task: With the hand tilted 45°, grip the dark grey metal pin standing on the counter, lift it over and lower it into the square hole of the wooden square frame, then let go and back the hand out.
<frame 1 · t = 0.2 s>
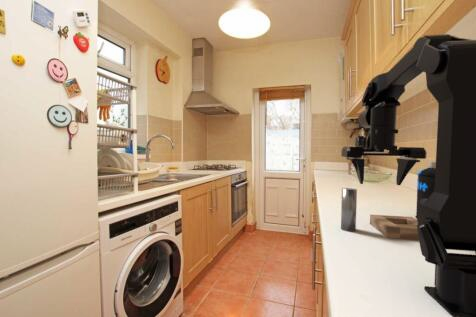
hand: (379, 184, 62), 14 cm above the worktop, tool pointing down, fingers open, 9 cm apart
wooden square frame: (400, 231, 67), on the worktop
metal pin: (348, 229, 68), on the worktop
aerosol can: (430, 220, 80), on the worktop
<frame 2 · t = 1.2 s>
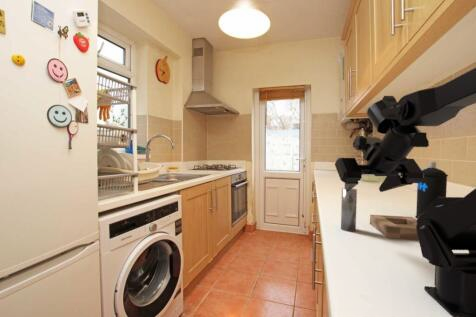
hand: (363, 190, 61), 13 cm above the worktop, tool tilted 45°, fingers open, 9 cm apart
nothing on the worktop moved.
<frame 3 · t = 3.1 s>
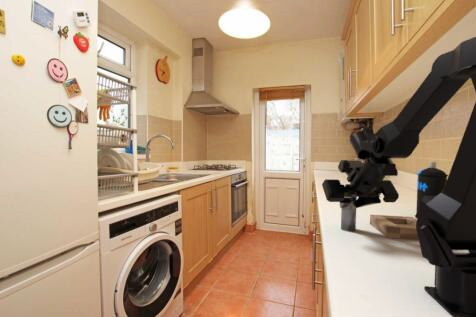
hand: (347, 206, 69), 7 cm above the worktop, tool tilted 45°, fingers closed on metal pin, 4 cm apart
metal pin: (348, 229, 68), on the worktop, touching gripper
everything else where it was.
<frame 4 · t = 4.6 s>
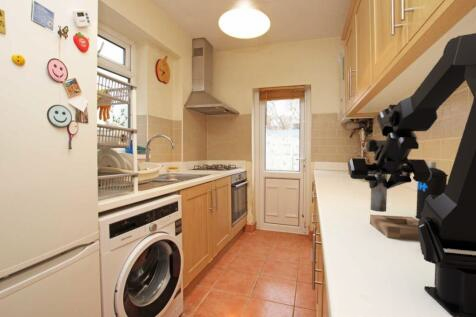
hand: (378, 187, 68), 12 cm above the worktop, tool tilted 45°, fingers closed on metal pin, 4 cm apart
metal pin: (378, 210, 68), point 6 cm above the worktop, touching gripper
everything else where it was.
when the fingers open (7 cm above the worktop, at t = 6.6 s): metal pin stays where it is, resting in wooden square frame.
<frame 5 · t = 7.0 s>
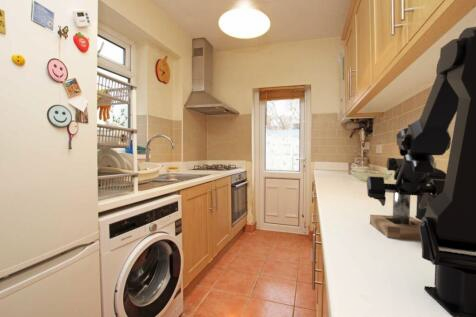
hand: (400, 206, 67), 7 cm above the worktop, tool tilted 45°, fingers open, 9 cm apart
metal pin: (400, 231, 67), resting in wooden square frame
everything else where it was.
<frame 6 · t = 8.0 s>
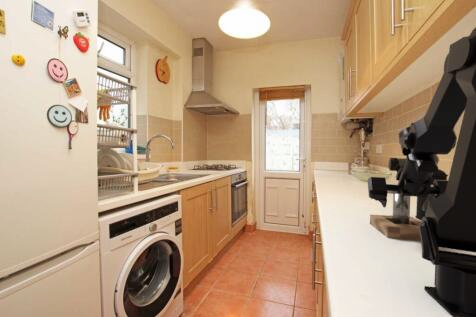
hand: (403, 207, 65), 7 cm above the worktop, tool tilted 45°, fingers open, 9 cm apart
nothing on the worktop moved.
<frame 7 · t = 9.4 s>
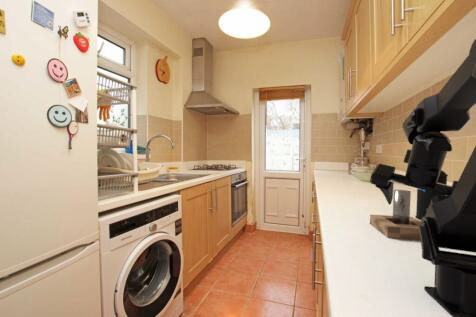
hand: (411, 210, 57), 9 cm above the worktop, tool tilted 35°, fingers open, 9 cm apart
nothing on the worktop moved.
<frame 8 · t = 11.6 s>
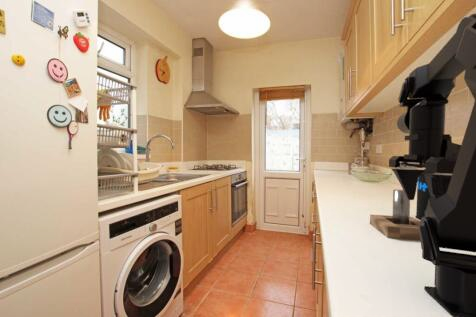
hand: (423, 204, 48), 12 cm above the worktop, tool pointing down, fingers open, 9 cm apart
nothing on the worktop moved.
at the end: metal pin 0.1 cm off-centre on the wooden square frame, point 0.0 cm above the wooden square frame's base; the gripper is holding nothing; metal pin tilted 0° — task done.
